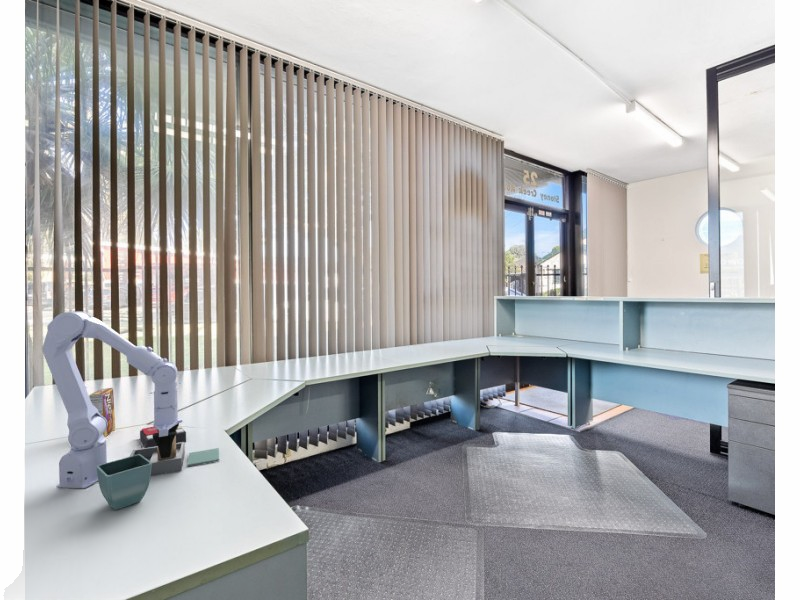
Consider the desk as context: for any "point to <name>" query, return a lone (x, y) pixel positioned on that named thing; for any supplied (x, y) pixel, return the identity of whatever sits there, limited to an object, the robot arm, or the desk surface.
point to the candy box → (105, 407)
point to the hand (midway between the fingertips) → (166, 453)
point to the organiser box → (163, 465)
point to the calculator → (147, 433)
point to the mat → (203, 457)
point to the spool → (173, 451)
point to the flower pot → (124, 480)
